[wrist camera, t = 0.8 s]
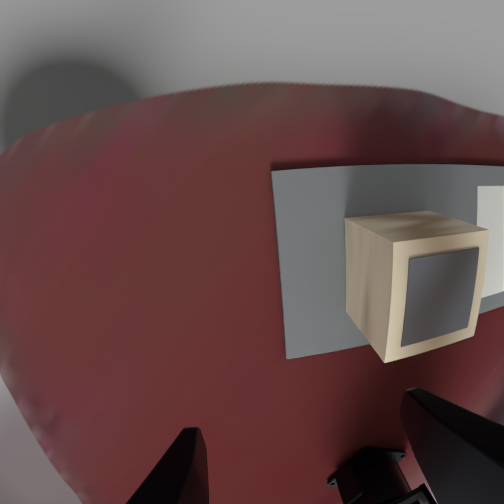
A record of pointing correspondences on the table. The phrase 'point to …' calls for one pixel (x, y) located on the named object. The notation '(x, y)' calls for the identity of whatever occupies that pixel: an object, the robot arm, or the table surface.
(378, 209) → the mat
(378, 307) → the birch cube
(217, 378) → the table surface
